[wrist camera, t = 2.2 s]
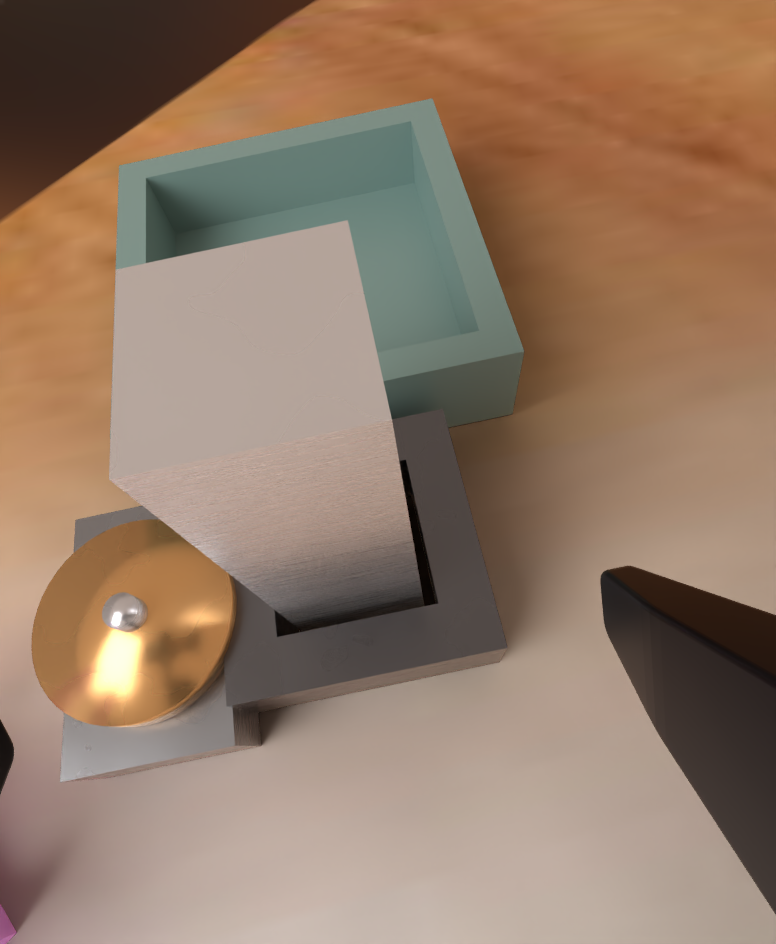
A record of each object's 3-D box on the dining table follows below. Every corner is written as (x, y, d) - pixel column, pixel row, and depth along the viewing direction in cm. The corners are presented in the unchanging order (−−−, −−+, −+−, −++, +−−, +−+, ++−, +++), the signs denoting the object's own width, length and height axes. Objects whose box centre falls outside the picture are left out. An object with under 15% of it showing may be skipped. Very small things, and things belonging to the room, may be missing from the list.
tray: (512, 414, 23) (524, 351, 19) (163, 487, 23) (110, 439, 19) (434, 179, 29) (432, 98, 25) (160, 237, 29) (119, 165, 25)
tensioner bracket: (507, 694, 18) (522, 680, 15) (92, 781, 18) (0, 789, 15) (443, 449, 22) (442, 388, 18) (102, 521, 22) (31, 475, 19)
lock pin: (425, 614, 20) (391, 419, 8) (311, 638, 20) (109, 479, 8) (403, 507, 21) (347, 220, 10) (297, 529, 21) (115, 269, 10)
